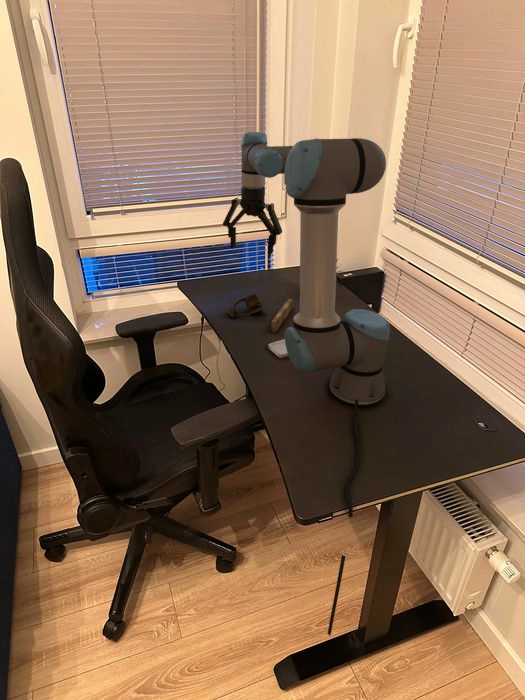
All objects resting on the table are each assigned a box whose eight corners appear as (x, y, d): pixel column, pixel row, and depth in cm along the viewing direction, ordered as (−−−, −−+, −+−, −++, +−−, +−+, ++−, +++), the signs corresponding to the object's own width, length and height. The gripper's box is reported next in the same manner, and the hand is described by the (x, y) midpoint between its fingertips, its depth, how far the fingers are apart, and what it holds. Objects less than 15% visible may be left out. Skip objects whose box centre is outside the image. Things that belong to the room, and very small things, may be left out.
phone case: (305, 335, 164) (267, 347, 156) (306, 332, 163) (267, 343, 156) (319, 346, 158) (280, 358, 151) (320, 342, 158) (280, 355, 151)
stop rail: (275, 332, 165) (275, 322, 162) (271, 332, 165) (271, 321, 163) (291, 309, 179) (292, 299, 177) (288, 308, 179) (288, 298, 177)
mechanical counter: (265, 307, 168) (266, 289, 175) (227, 303, 167) (230, 284, 174) (262, 323, 173) (264, 305, 180) (226, 319, 172) (228, 300, 179)
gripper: (294, 188, 156) (290, 252, 168) (222, 178, 164) (222, 240, 175) (286, 194, 150) (282, 260, 162) (212, 183, 158) (213, 247, 169)
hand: (251, 250), depth 168 cm, fingers open, 13 cm apart
